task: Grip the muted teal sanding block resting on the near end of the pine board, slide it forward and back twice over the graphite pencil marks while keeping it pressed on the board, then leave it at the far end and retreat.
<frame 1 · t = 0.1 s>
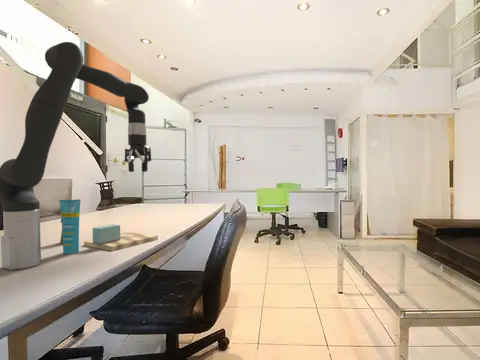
hand: (137, 171, 132), 29 cm above the table, tool pointing down, fingers open, 8 cm apart
cork: (68, 242, 126), on the table
sanding block: (106, 241, 119), point 2 cm above the table, touching board
tube: (71, 253, 109), on the table
board: (122, 242, 125), on the table
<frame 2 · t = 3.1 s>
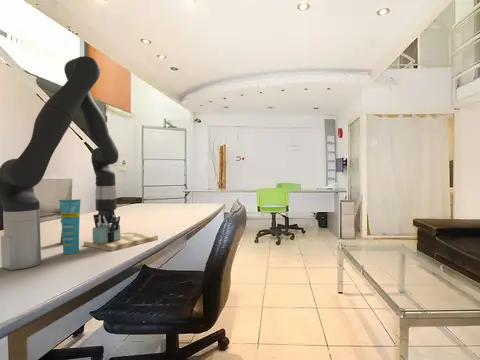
hand: (107, 240, 119), 2 cm above the table, tool pointing down, fingers closed on sanding block, 4 cm apart
sanding block: (106, 241, 119), point 2 cm above the table, touching board, gripper
everything else where it was.
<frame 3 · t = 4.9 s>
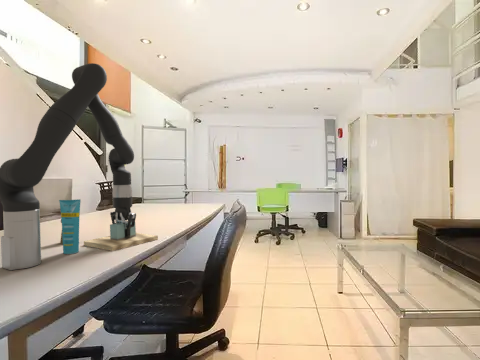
hand: (123, 236, 125), 2 cm above the table, tool pointing down, fingers closed on sanding block, 4 cm apart
sanding block: (123, 237, 125), point 2 cm above the table, touching gripper
everything else where it was.
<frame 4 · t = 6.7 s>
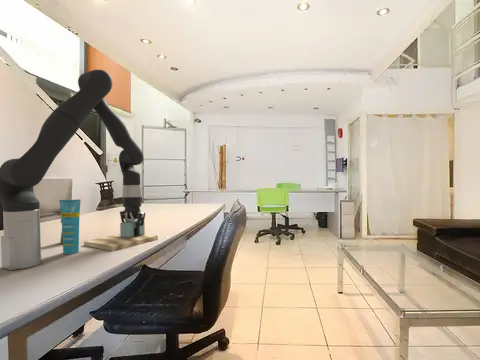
hand: (132, 235, 129), 2 cm above the table, tool pointing down, fingers closed on sanding block, 4 cm apart
sanding block: (132, 235, 129), point 2 cm above the table, touching board, gripper
everything else where it was.
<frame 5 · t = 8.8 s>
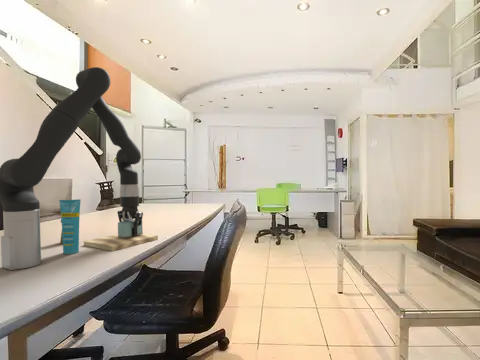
hand: (130, 235, 128), 2 cm above the table, tool pointing down, fingers closed on sanding block, 4 cm apart
sanding block: (130, 235, 128), point 2 cm above the table, touching gripper
everything else where it was.
when the fingers open (2 cm above the table, at t = 10.6 s): sanding block stays where it is, resting on board.
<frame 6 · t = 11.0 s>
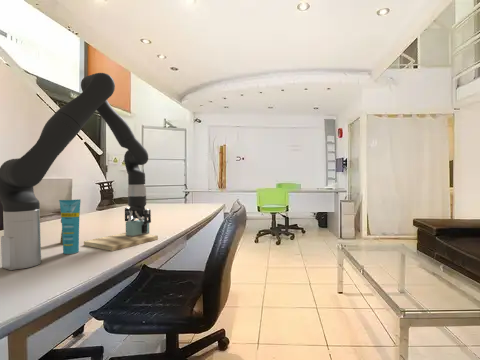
hand: (137, 232, 132), 3 cm above the table, tool pointing down, fingers open, 8 cm apart
sanding block: (137, 234, 132), point 2 cm above the table, touching board
everything else where it was.
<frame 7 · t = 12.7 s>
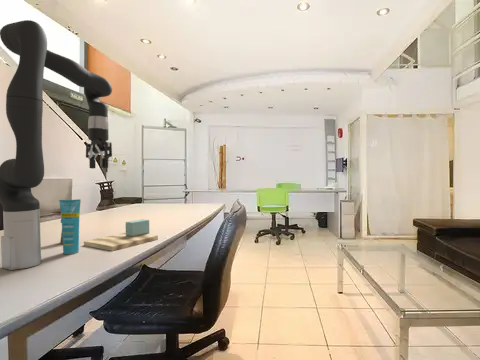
hand: (98, 168, 124), 31 cm above the table, tool pointing down, fingers open, 8 cm apart
nothing on the table moved.
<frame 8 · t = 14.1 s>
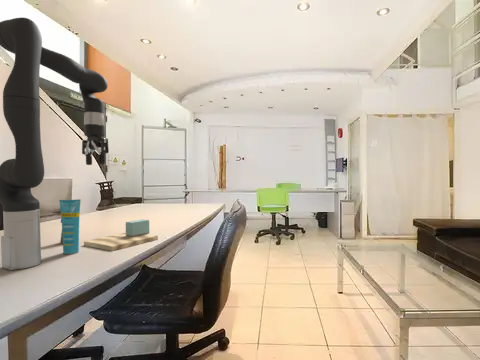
hand: (95, 164, 123), 32 cm above the table, tool pointing down, fingers open, 8 cm apart
nothing on the table moved.
at the end: sanding block inside the target area (0.0 cm from its centre), point 1.6 cm above the table; sanding block tilted 1°; sanding block moved 15.0 cm from its start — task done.
